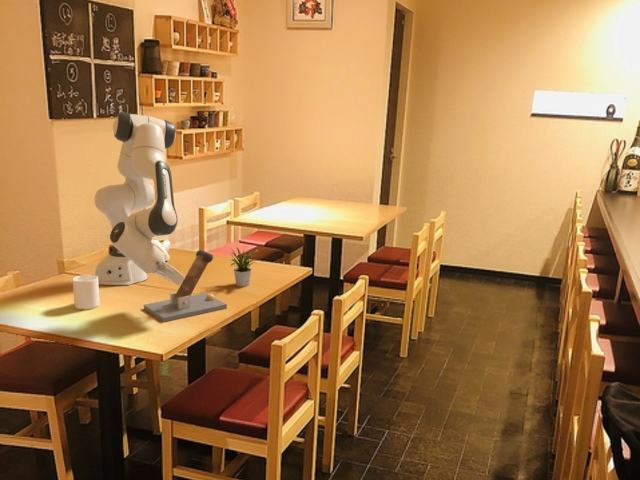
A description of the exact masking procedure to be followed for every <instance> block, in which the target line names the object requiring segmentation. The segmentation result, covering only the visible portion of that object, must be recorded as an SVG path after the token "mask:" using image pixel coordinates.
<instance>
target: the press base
mask: <svg viewBox="0 0 640 480" xmlns="http://www.w3.org/2000/svg"><path fill="white" fill-rule="evenodd" d="M176 293H177V291H174V292H171V293H169V296H170V297H169V298H170V299H167V300H161V301H156V302H151V303H146V304H143V309H144V310H145V311H147V312H148V313H150V314H151V315H153V317H155V318H157V319H159V320H160V321H162V323H166V322H171V321H175V320H179V319H184V318H189V317H193V316H196V315H197V316H198V315H201V314H202V315H203V314H207V313H212V312H216V311H221V310H225V309H228V305H227V303H225V302H223V301H222V300H219V299H218V298H216V296H215V295H214V294H213V293H209V294H208V293H206V292H202V293H201V292H200V293H196V294H191V295H190V296H183V297H178V299H177V298H175V295H176Z"/></svg>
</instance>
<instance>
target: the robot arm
mask: <svg viewBox="0 0 640 480" xmlns="http://www.w3.org/2000/svg"><path fill="white" fill-rule="evenodd" d="M112 131H113V136H114V137H115V139H117V140H118V141H120V142H121V143H122V144H121V149H120V153H119V156H118V161H117V169H118V172H119V173H120V174H121V175H122V176H123V177H125V179H124V182H123V183H120V184H119V183H118V184H112V185H107V186H103V187H101V188H100V189H97V191H95V192H96V193H95V194H94V205H95V207H96V208H97V210H99V212H101V213H102V214H103V215H104V216H105V217H107V219H108V221H109V223H110V225H111V231H110V233H109V240H110V242H111V243H110V244H109V245H108V250H107V251H108V255H107V256H105V257H104V258H103V259H101V260H100V261H99V262H98V263H97V264H96V266H95V270H94V273H93V274H92V275H95V276H97V277H98V285H105V286H107V285H109V286H113V285H114V286H129V285H132V284H135V283H140V282H143V281H145V280H147V279H148V275H147V274H156V275H157V276H159V277H161V278H163V279H165V280H167V281H169V282H171V283H173V284H175V285H177V286H181V284H182V282H183V280H184V279H185V277H186V276H185V275H184V274H183V273H181V272H180V271H179V270H178V269H176V268H175V267H174V266H173V265H171V264H169V263H168V262H166V261H165V259H164V256H165V255H164V253H163V252H162V251H161V250H160V249H159V248H157V247H156V246H155V245H154V244H153V243H152V242H151V240H153V238H155V237H160V236H168V235H171V234H173V232H174V231H175V230H176V228H177V226H178V214H177V211H176V207H175V200H174V199H175V198H174V191H173V190H174V189H173V179H172V173H171V172H172V171H171V168H170V166H169V165H168V163H166V157H165V156H166V149H170V148H171V147H172V146H173V145H174V142H175V141H176V138H177V132H176V126H175V124H174V123H173V122H170V121H169V120H166V119H164V120H163V119H160V118H158V117H154V116H150V115H142V114H135V113H134V114H133V113H130V112H120V113H118V114H117V116H116V118H115V119H114V121H113V125H112ZM148 180H152V181H153V186H154V188H153V186H152V185H151V184H150V183H149V181H148ZM138 210H139V211H138ZM132 211H134V213H131V212H132Z"/></svg>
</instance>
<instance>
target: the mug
mask: <svg viewBox="0 0 640 480" xmlns="http://www.w3.org/2000/svg"><path fill="white" fill-rule="evenodd" d="M99 285H100V284H98V277H97V276H95V275H93V274H83V275H78V276H74V277H73V278H72V287H73V289H72V291H73V302H74V307H75V308H76V309H78V310H81V309H83V310H85V311H86V310H92V309H96V308H98V307H99V306H100V289H99ZM83 310H82V311H83Z"/></svg>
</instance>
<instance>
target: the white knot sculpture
mask: <svg viewBox="0 0 640 480" xmlns="http://www.w3.org/2000/svg"><path fill="white" fill-rule="evenodd" d="M151 242H152V243H153V244H154V245H155V246H156V247H157V248H159V249H160V250H161V251H162V252H163V253H164V255H165V256H164V259H165V262H169V260H170V255H169V253H168V252H169V249H170V248H171V242H170V241H169V240H164V241H162V242H160V241H158V240H156V239H152V240H151Z"/></svg>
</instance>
